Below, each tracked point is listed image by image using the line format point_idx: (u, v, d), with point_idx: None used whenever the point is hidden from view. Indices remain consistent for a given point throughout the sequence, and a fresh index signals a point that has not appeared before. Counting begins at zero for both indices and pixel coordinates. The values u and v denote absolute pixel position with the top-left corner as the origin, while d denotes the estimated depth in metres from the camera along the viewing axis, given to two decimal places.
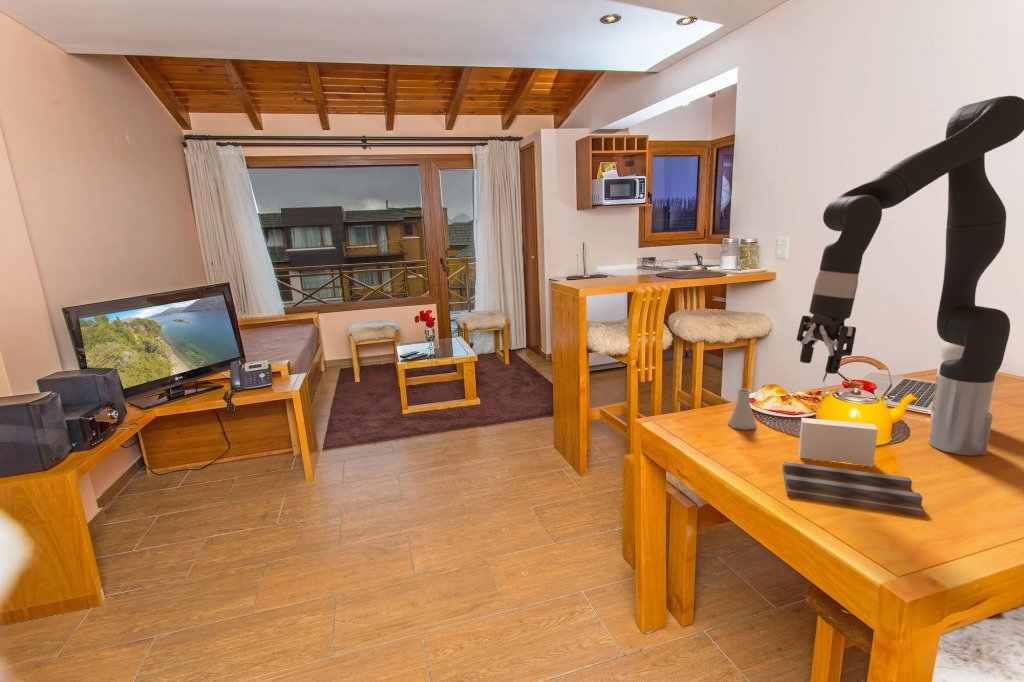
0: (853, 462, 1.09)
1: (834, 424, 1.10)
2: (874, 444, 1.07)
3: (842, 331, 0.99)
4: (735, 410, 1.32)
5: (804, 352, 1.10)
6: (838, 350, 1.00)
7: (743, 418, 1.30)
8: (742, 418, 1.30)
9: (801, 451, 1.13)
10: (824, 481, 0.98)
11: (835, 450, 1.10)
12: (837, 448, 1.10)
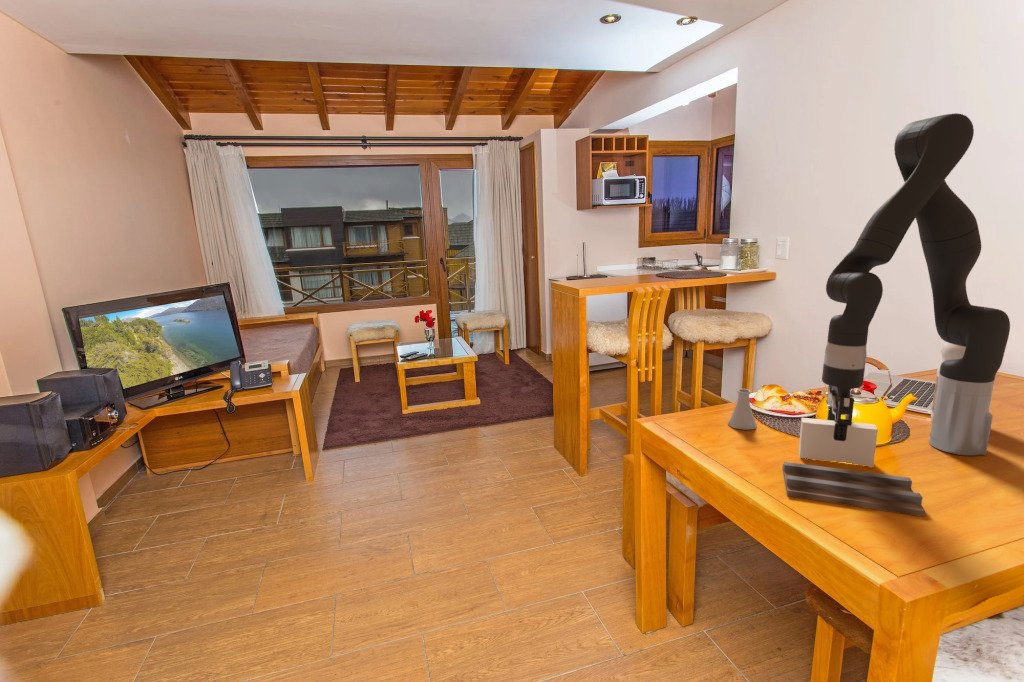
0: (853, 462, 1.09)
1: (834, 424, 1.10)
2: (874, 444, 1.07)
3: (839, 402, 1.03)
4: (735, 410, 1.32)
5: (829, 416, 1.14)
6: (837, 419, 1.04)
7: (743, 418, 1.30)
8: (742, 418, 1.30)
9: (801, 451, 1.13)
10: (824, 481, 0.98)
11: (835, 450, 1.10)
12: (837, 448, 1.10)
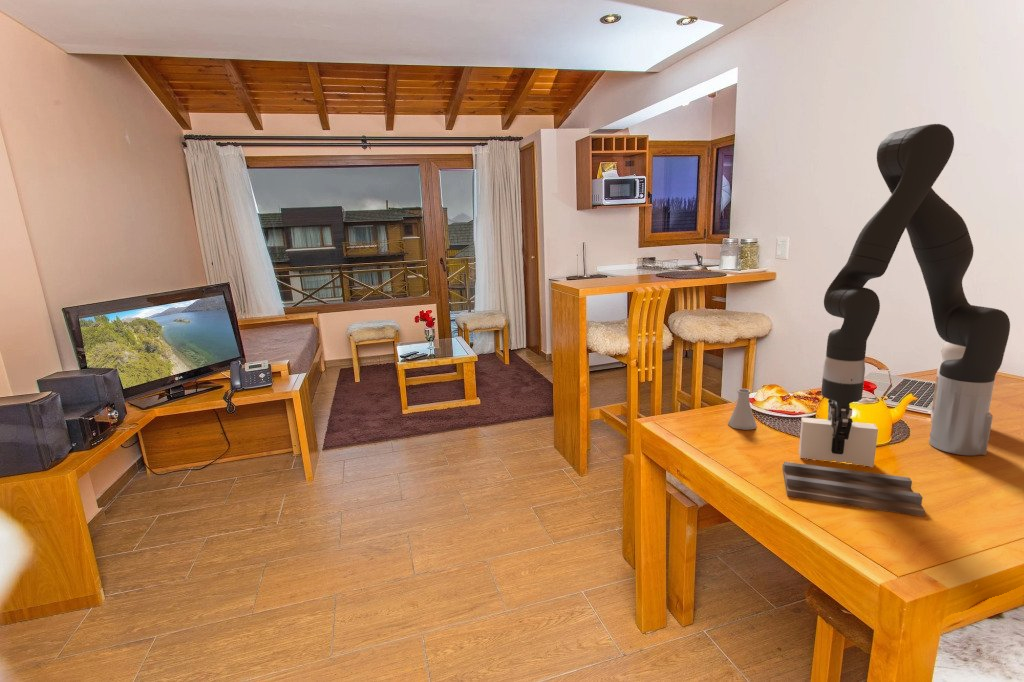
0: (853, 462, 1.09)
1: None
2: (874, 444, 1.07)
3: (837, 422, 1.05)
4: (735, 410, 1.32)
5: None
6: (834, 434, 1.07)
7: (743, 418, 1.30)
8: (742, 418, 1.30)
9: (801, 450, 1.13)
10: (824, 481, 0.98)
11: None
12: None
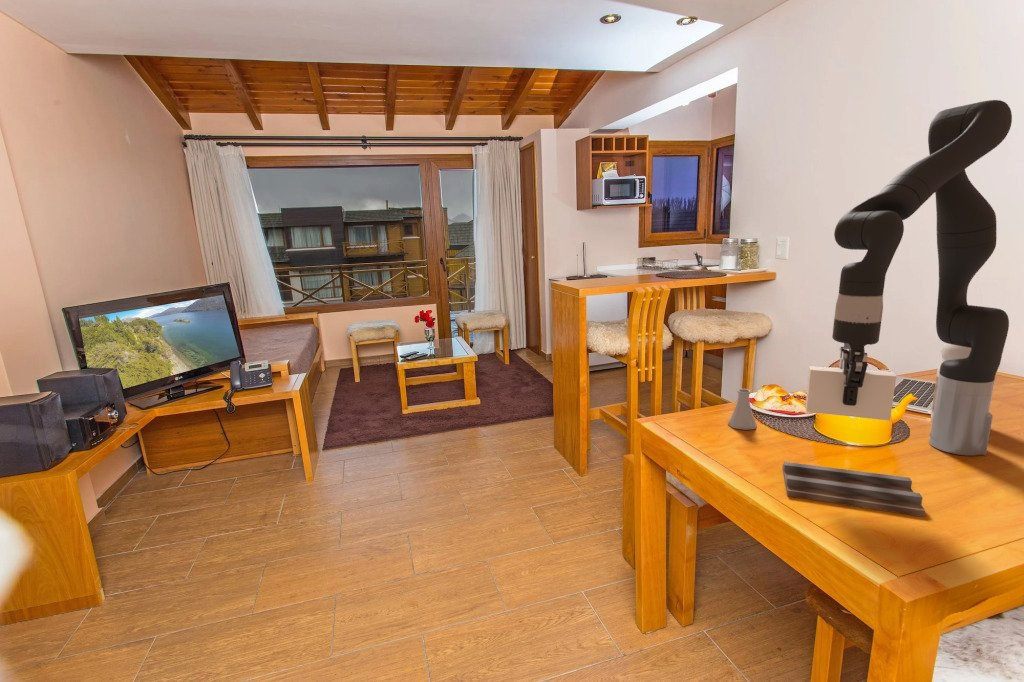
0: (867, 414, 0.97)
1: None
2: (892, 393, 0.94)
3: (850, 366, 0.93)
4: (735, 410, 1.32)
5: None
6: (846, 381, 0.95)
7: (743, 418, 1.30)
8: (742, 418, 1.30)
9: (808, 402, 1.01)
10: (824, 481, 0.98)
11: None
12: None
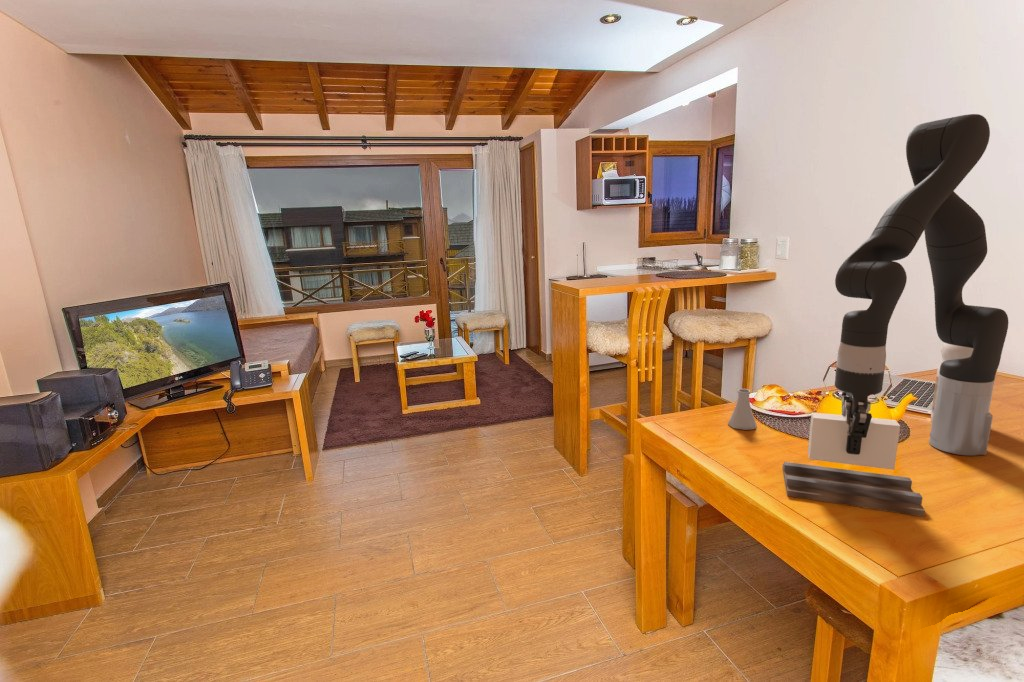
0: (871, 463, 0.95)
1: None
2: (896, 442, 0.93)
3: (854, 417, 0.91)
4: (735, 410, 1.32)
5: None
6: (850, 431, 0.93)
7: (743, 418, 1.30)
8: (742, 418, 1.30)
9: (811, 450, 0.99)
10: (824, 481, 0.98)
11: None
12: None
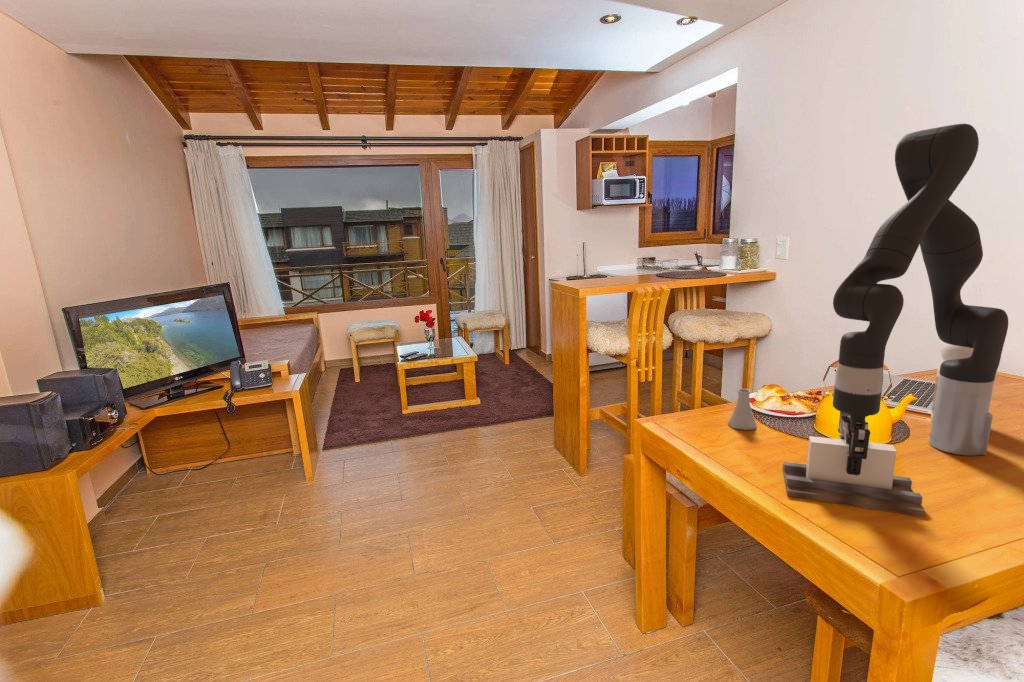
0: None
1: None
2: (892, 467, 0.94)
3: (853, 434, 0.91)
4: (735, 410, 1.32)
5: None
6: (850, 452, 0.93)
7: (743, 418, 1.30)
8: (742, 418, 1.30)
9: (809, 473, 1.01)
10: (824, 481, 0.98)
11: None
12: None
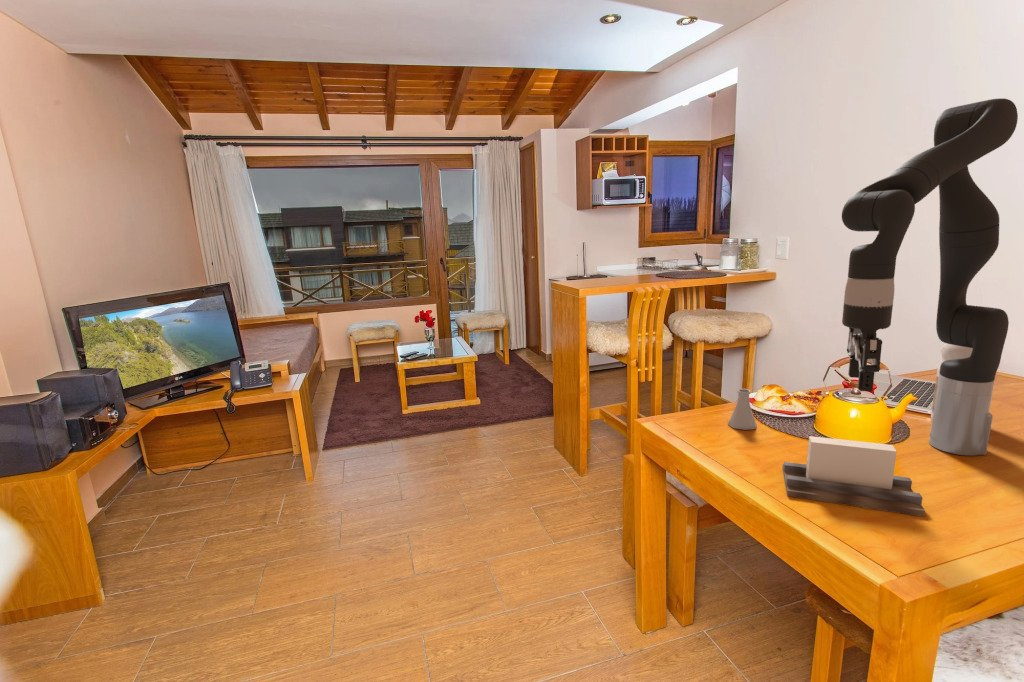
0: None
1: (847, 444, 0.97)
2: (892, 467, 0.94)
3: (864, 345, 0.89)
4: (735, 410, 1.32)
5: (851, 365, 0.99)
6: (862, 366, 0.90)
7: (743, 418, 1.30)
8: (742, 418, 1.30)
9: (809, 473, 1.01)
10: (824, 481, 0.98)
11: (848, 473, 0.98)
12: (850, 471, 0.97)
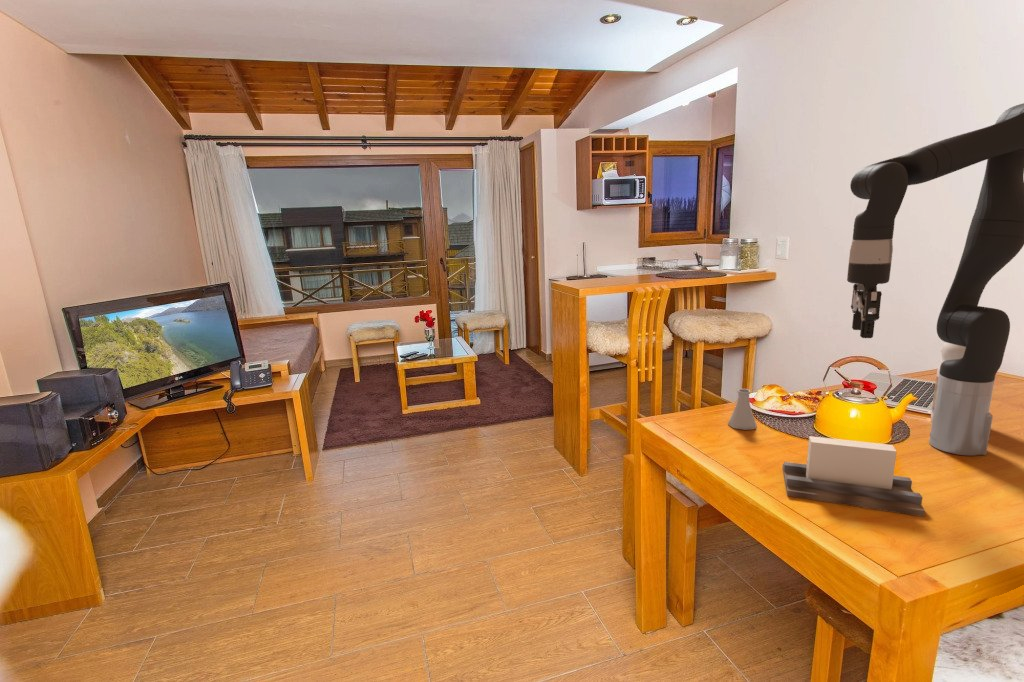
0: None
1: (847, 444, 0.97)
2: (892, 467, 0.94)
3: (866, 296, 1.03)
4: (735, 410, 1.32)
5: (854, 319, 1.14)
6: (864, 315, 1.04)
7: (743, 418, 1.30)
8: (742, 418, 1.30)
9: (809, 473, 1.01)
10: (824, 481, 0.98)
11: (848, 473, 0.98)
12: (850, 471, 0.97)
